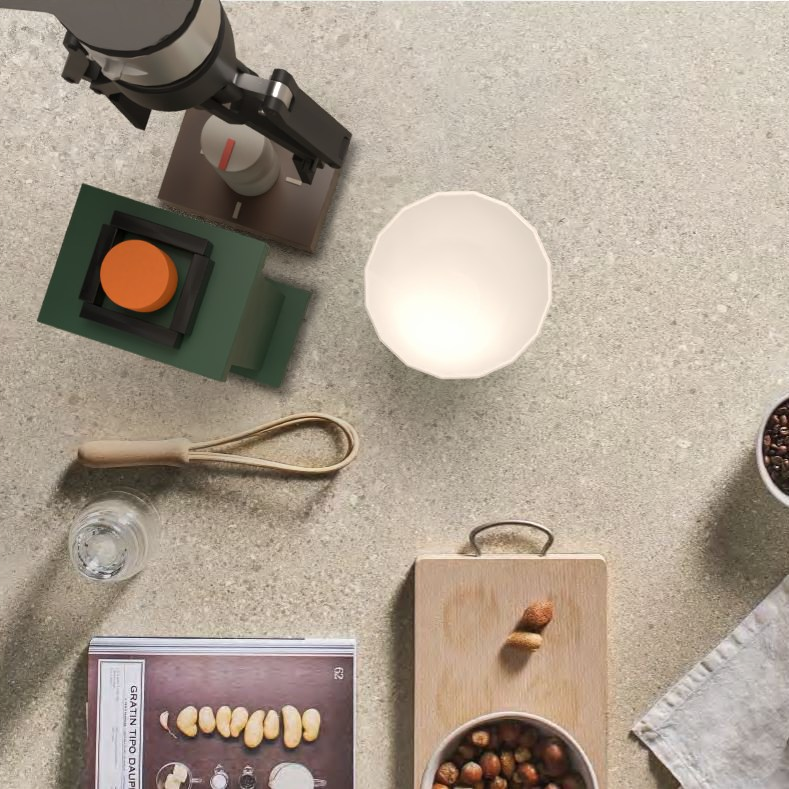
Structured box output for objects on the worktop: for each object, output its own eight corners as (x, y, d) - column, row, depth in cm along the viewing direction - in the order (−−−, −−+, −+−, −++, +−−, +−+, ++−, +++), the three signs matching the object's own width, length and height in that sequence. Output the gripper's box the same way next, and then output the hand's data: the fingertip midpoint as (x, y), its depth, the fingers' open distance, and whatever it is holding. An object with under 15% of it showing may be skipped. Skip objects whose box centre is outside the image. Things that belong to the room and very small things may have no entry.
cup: (511, 397, 78) (536, 395, 63) (359, 371, 79) (347, 363, 63) (536, 245, 78) (568, 205, 63) (385, 220, 79) (379, 174, 63)
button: (102, 300, 53) (90, 296, 51) (123, 237, 53) (112, 230, 51) (165, 321, 53) (156, 317, 51) (186, 257, 53) (177, 251, 51)
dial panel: (166, 205, 79) (156, 197, 76) (201, 100, 79) (192, 87, 76) (313, 253, 79) (309, 247, 76) (348, 147, 79) (345, 137, 76)
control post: (154, 347, 79) (25, 318, 53) (185, 252, 79) (72, 176, 53) (280, 389, 79) (215, 381, 52) (312, 293, 79) (262, 237, 52)
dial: (233, 131, 76) (211, 97, 68) (287, 149, 76) (272, 118, 68) (214, 185, 76) (190, 158, 68) (268, 204, 76) (251, 179, 68)
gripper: (-91, 15, 47) (61, 136, 68) (352, 159, 47) (366, 235, 68) (-47, -118, 47) (91, 44, 68) (396, 26, 47) (396, 144, 68)
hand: (228, 140), depth 68 cm, fingers open, 13 cm apart
